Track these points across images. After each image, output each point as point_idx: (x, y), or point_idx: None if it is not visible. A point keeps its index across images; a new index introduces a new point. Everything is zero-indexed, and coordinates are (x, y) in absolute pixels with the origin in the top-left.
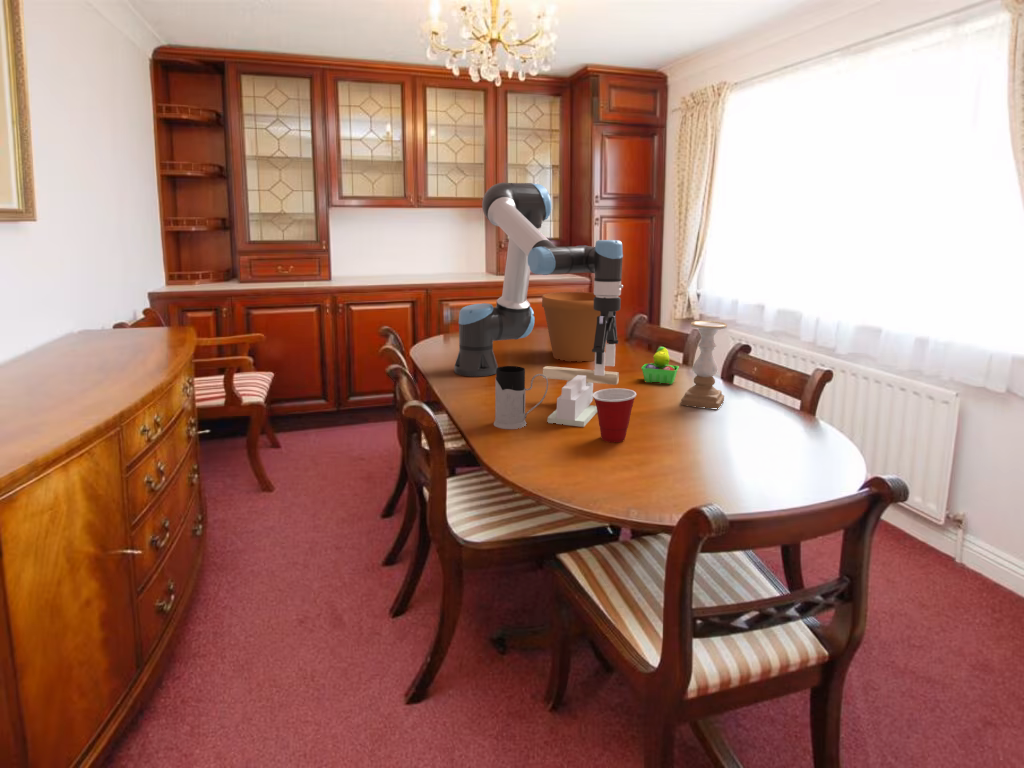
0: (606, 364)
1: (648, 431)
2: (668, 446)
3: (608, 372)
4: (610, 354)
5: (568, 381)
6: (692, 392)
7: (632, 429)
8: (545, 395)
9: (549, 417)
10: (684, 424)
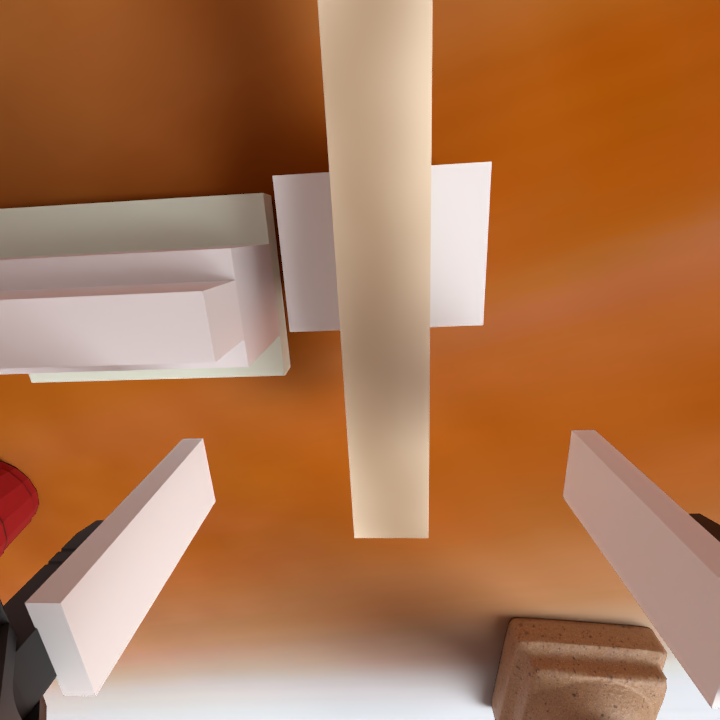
0: (577, 446)
1: None
2: None
3: (396, 480)
4: (628, 543)
5: (305, 181)
6: (551, 698)
7: None
8: None
9: None
10: (278, 642)
